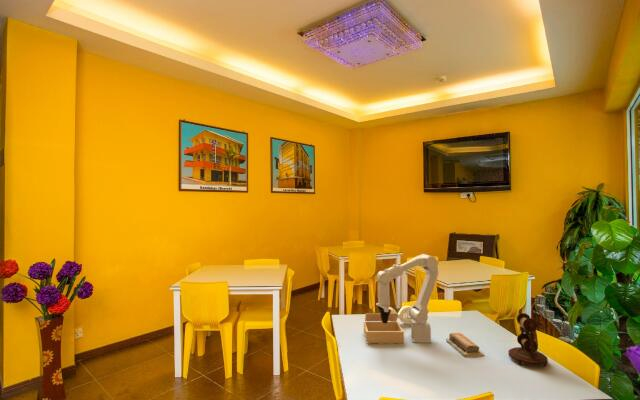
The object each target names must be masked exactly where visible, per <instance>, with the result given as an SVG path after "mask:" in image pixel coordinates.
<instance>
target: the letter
mask: <svg viewBox="0 0 640 400" xmlns="http://www.w3.org/2000/svg"><path fill="white" fill-rule="evenodd" d="M411 308H412V306H410V305H404V306H402V307H401V308H400V309H399V310H398V312H397V311H396V310H395V309H394V308H393V307H391V306H390V307H389V310H391V312H390V313H398V317H397V319H399V321H400V322H401V323H403V324H404V325H411V317H410V316H409V310H410V309H411ZM380 322H382V321H380ZM388 322H397V321H388Z"/></svg>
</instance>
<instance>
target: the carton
mask: <svg viewBox="0 0 640 400" xmlns="http://www.w3.org/2000/svg"><path fill="white" fill-rule="evenodd" d="M404 332H405V331H404V330H403V328H402V326H401V325H400V323H399V321H396V322H387V323H383V322H381V321H363V334H365V335H364V338H366V339H365V341H366V342H368V343H394V344H396V345H397V344H399V345H400V344H402V345H403V344H404V342H405V340H404V339H405V338H404V337H405V336H404V335H405V334H404Z"/></svg>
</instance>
